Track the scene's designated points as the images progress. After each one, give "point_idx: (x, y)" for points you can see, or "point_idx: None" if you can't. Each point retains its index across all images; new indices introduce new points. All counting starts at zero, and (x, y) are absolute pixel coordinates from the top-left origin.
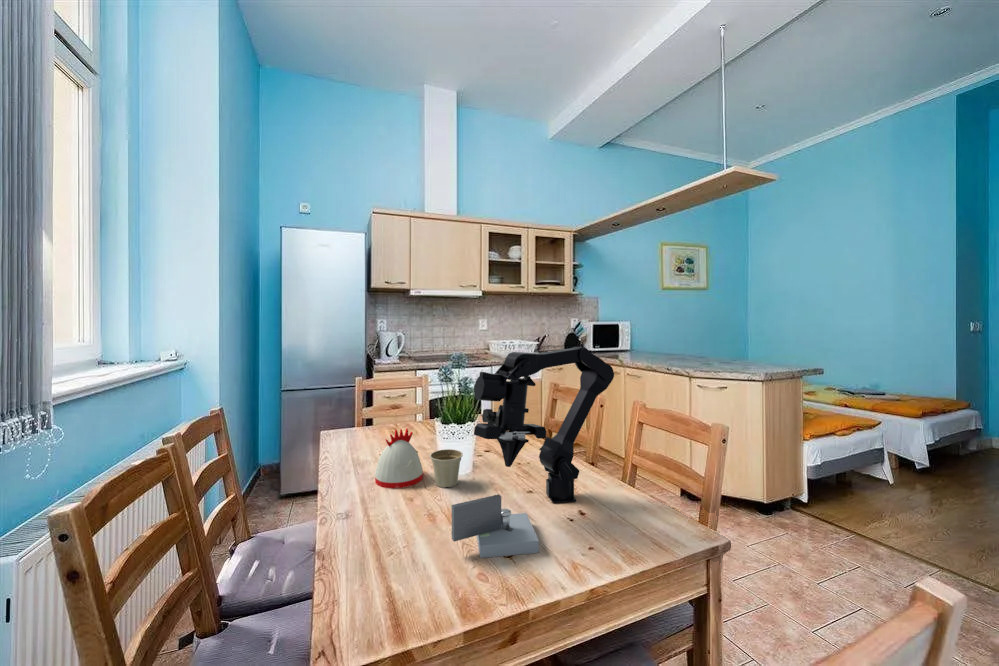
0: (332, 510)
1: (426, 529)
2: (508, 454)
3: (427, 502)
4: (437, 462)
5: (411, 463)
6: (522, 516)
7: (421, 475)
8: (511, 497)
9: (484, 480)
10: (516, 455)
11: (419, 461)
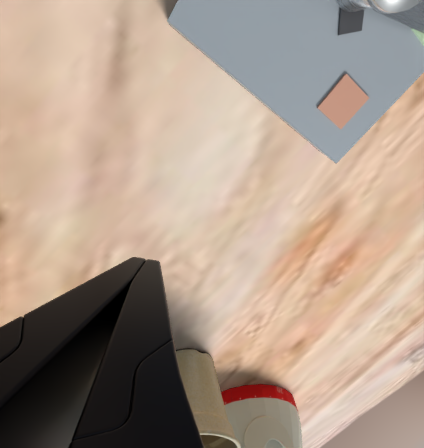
0: (410, 372)
1: (395, 229)
2: (175, 349)
3: (286, 321)
4: (233, 432)
5: (258, 444)
6: (210, 5)
7: None
8: (82, 224)
9: None
10: (49, 309)
11: None
